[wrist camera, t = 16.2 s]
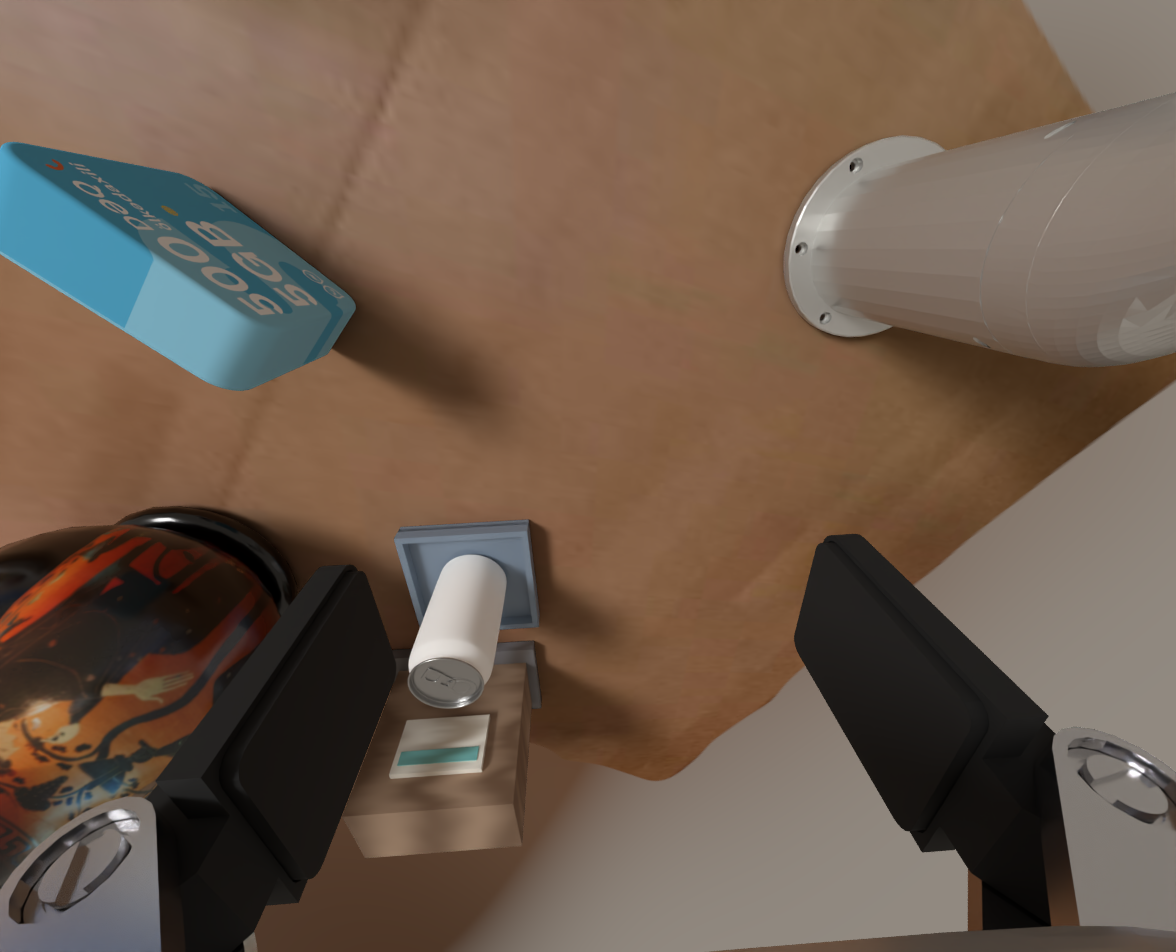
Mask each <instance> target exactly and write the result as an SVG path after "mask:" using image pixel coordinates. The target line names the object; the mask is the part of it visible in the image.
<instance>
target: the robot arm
mask: <svg viewBox="0 0 1176 952" xmlns="http://www.w3.org/2000/svg"><path fill="white" fill-rule="evenodd" d="M850 164H851V166H852V168H851V171H850ZM797 245H798V247H799V249H798V251H797V252H796V253H795V249H796V246H797ZM784 278H785V284H786V289H787V292H788V294H789V297H790V300H791V302H792V304H793V306H794V307H795V309H796V310H797V312H798V313H799V315H800V316H801V317H802V318H804V319H805V320H806V321H807V322H808V323H809V324H810V325H812V326H814V327H816V328H817V329H819V330H821V331H824V332H827V333H830V334H833V335H837V336H843V337H863V336H867V335H871V334H876V333H879V332H882V331H884V330H886V329H889V328H891V327H893V326H895V327H899V328H903V329H907V330H911V331H916V332H920V333H924V334H928V335H933V336H937V337H941V338H945V339H949V340H954V341H958V342H962V343H966V344H970V345H975V346H979V347H983V348H987V349H991V350H996V351H1000V352H1004V353H1008V354H1012V355H1017V356H1021V357H1025V358H1031V359H1035V360H1040V361H1044V362H1048V363H1054V364H1060V365H1067V366H1077V367H1103V366H1115V365H1125V364H1130V363H1135V362H1140V361H1144V360H1149V359H1153V358H1157V357H1160V356H1164V355H1168V354H1171V353H1174V352H1176V92H1175V93H1171V94H1167V95H1163V96H1159V97H1155V98H1151V99H1147V100H1144V101H1140V102H1137V103H1132V104H1129V105H1125V106H1121V107H1117V108H1113V109H1109V110H1105V111H1101V112H1097V113H1093V114H1089V115H1085V116H1081V117H1077V118H1073V119H1069V120H1065V121H1061V122H1057V123H1054V124H1050V125H1046V126H1042V127H1038V128H1034V129H1030V130H1026V131H1022V132H1018V133H1014V134H1010V135H1006V136H1002V137H998V138H994V139H990V140H986V141H983V142H979V143H975V144H971V145H967V146H963V147H959V148H955V149H951V150H947V151H946V150H945V149H944V148H942V147H941V146H940V145H938V144H937V143H935V142H933V141H930V140H927V139H924V138H922V137H914V136H897V137H890V138H884V139H881V140H878V141H875V142H872V143H869V144H866V145H864V146H862V147H860V148H858V149H856V150H854V151H852V152H850V153H848V154H847V155H846V156H844V157H843V158H842V159H840V160H839V161H837V162H836V163H835V164H833V165H832V166H831V167H830V168H829V169H828V170H827V171H826V172H825V173H824V174H823V175H822V176H821V177H820V178H819V179H818V180H817V181H816V183H815V184H814V185H813V187H812V188H811V189H810V191H809V192H808V193H807V195H806V196H805V198H804V199H803V201H802V203H801V205H800V207H799V209H798V211H797V212H796V214H795V216H794V219H793V222H792V224H791V227H790V230H789V233H788V236H787V241H786V246H785V252H784ZM821 315H822V318H821V319H820V317H821ZM794 641H795V646H796V649H797V652H798V654H799V656H800V657H801V659H802V661H803V662H804V664H805V666H806V668H807V669H808V671H809V673H810V675H811V676H812V678H813V680H814V681H815V683H816V685H817V687H818V688H819V690H820V692H821V694H822V695H823V697H824V699H825V700H826V702H827V704H828V706H829V707H830V709H831V711H832V712H833V714H834V716H835V718H836V719H837V721H838V723H839V724H840V726H841V728H842V730H843V732H844V733H845V735H846V737H847V738H848V740H849V742H850V744H851V745H852V747H853V749H854V750H855V752H856V754H857V756H858V757H859V759H860V761H861V763H862V764H863V766H864V768H865V770H866V771H867V773H868V775H869V776H870V778H871V780H872V782H873V783H874V785H875V787H876V788H877V790H878V792H879V794H880V795H881V797H882V799H883V800H884V802H885V804H886V806H887V808H888V809H889V811H890V813H891V814H892V816H893V818H894V819H895V821H896V822H897V824H898V825H899V826H900V827H901V828H902V829H904V830H905V831H910V833H911V834H912V836H913V838H914V840H915V841H916V843H917V845H918V846H919V848H920V850H921V851H922V852H934V851H946V850H955V849H956V851H957V852H958V854H959V855H960V857H961V858H962V860H963V861H964V863H965V865H966V866H967V868H968V931H964V932H947V933H934V934H921V935H908V936H896V937H883V938H872V939H859V940H847V941H833V942H822V943H809V944H796V945H785V946H771V947H759V948H748V949H735V950H723V951H712V952H1176V772H1175V771H1174V770H1172V769H1171V768H1170V767H1169V766H1167V765H1166V764H1165V763H1164V762H1162V761H1160V760H1159V759H1157V758H1156V757H1154V756H1152V755H1151V754H1149V753H1148V752H1146V751H1144V750H1143V749H1141V748H1140V747H1137V746H1135V745H1133V744H1131V743H1129V742H1127V741H1124V740H1123V739H1121V738H1118V737H1116V736H1114V735H1110V734H1107V733H1104V732H1101V731H1098V730H1095V729H1089V728H1081V727H1071V728H1065V729H1061V730H1060V731H1059V732H1058V733H1057V734H1055V733H1054V732H1053V731H1052V730H1051V729H1050V728H1049V727H1048V726H1047V725H1046V724H1045V723H1044V722H1045V721H1046V719H1047V718H1048V715H1047V714H1046V713H1045V712H1044V711H1043V710H1042V709H1041V708H1040V707H1039V706H1038V705H1036V704H1035V703H1034V701H1032V700H1031V699H1030V698H1029V697H1028V696H1027V695H1026V694H1025V693H1024V692H1023V691H1022V690H1021V689H1020V688H1019V687H1018V686H1017V685H1016V684H1015V683H1014V682H1013V681H1012V680H1011V679H1010V678H1009V677H1008V676H1007V675H1006V674H1005V673H1004V672H1002V671H1001V670H1000V669H999V668H998V667H997V666H996V665H995V664H994V663H993V662H992V661H991V660H990V659H989V658H988V657H987V656H986V655H985V654H984V653H983V652H982V651H981V650H980V649H978V647H976V645H974V644H973V643H972V642H971V641H970V640H969V639H968V638H967V637H966V636H965V635H964V634H963V633H962V632H961V631H960V630H959V629H958V628H957V627H956V626H955V625H954V624H953V623H952V622H951V621H950V620H949V619H947V618H946V616H944V615H943V614H942V613H941V612H940V611H939V610H938V609H937V608H936V607H935V606H934V605H933V604H932V603H931V602H930V601H929V600H928V599H927V598H926V597H925V596H924V595H923V594H922V593H921V592H920V591H919V590H918V589H916V588H915V587H914V586H913V585H912V584H911V583H910V582H909V581H908V580H907V579H906V578H905V577H904V576H903V575H902V574H901V573H900V572H899V571H898V570H897V569H896V568H895V567H894V566H893V565H892V564H891V563H890V562H889V561H887V560H886V559H885V558H884V557H883V556H882V555H881V554H880V553H879V552H878V551H877V550H876V549H875V548H874V547H873V546H872V545H871V544H870V543H869V542H868V541H867V540H866V539H865V538H864V537H862V536H861V535H858V534H846V535H830V536H827V537H826V538H825V539H824V542H823V543H820V544H818V546H817V548H816V551H815V555H814V559H813V563H812V567H811V571H810V575H809V579H808V583H807V587H806V591H805V595H804V599H803V603H802V607H801V611H800V615H799V619H798V623H797V627H796V631H795V636H794ZM395 676H396V661H395V658H394V655H393V652H392V649H391V646H390V643H389V641H388V638H387V635H386V632H385V629H384V626H383V623H382V620H381V617H380V615H379V612H378V609H377V606H376V603H375V600H374V597H373V594H372V591H371V589H370V586H369V583H368V580H367V577H366V575H365V573H364V572H362V571H357V569H356V567H355V566H354V565H335V566H322V567H320V568H319V569H318V570H316V572H315V573H314V574H313V575H312V577H311V578H310V579H309V581H308V582H307V583H306V585H305V586H304V587H303V589H302V590H301V591H300V592H299V594H298V595H297V596H296V598H295V599H294V600H293V602H292V603H291V604H290V606H289V607H288V608H287V609H286V611H285V612H284V613H283V615H282V616H281V617H280V619H279V620H278V621H277V623H276V624H275V625H274V626H273V628H272V629H271V630H270V632H269V633H268V634H267V636H266V637H265V638H264V639H263V641H262V642H261V643H260V645H259V646H258V647H257V649H256V650H255V651H254V653H253V654H252V655H251V656H250V658H249V659H248V660H247V662H246V663H245V664H244V666H243V667H242V668H241V670H240V671H239V672H238V673H237V675H236V676H235V677H234V679H233V680H232V681H231V683H230V684H229V685H228V687H227V688H226V689H225V690H224V692H223V693H222V694H221V696H220V697H219V698H218V700H217V701H216V702H215V704H214V705H213V706H212V707H211V709H210V710H209V711H208V713H207V714H206V715H205V717H204V718H203V719H202V721H201V722H200V723H199V724H198V726H197V727H196V728H195V730H194V731H193V732H192V734H191V735H190V736H189V737H188V739H187V740H186V741H185V743H184V744H183V745H182V747H181V748H180V749H179V751H178V752H177V753H176V754H175V756H174V757H173V758H172V760H171V761H170V762H169V764H168V765H167V766H166V768H165V769H164V770H163V771H162V773H161V774H160V775H159V777H158V778H157V779H156V781H155V782H156V783H157V786H156V787H155V788H154V790H153V791H152V792H151V794H150V795H149V796H148V798H147V799H144V798H142V797H123V798H119V799H116V800H112V801H108V802H105V803H103V804H101V805H99V806H97V807H95V808H92V809H90V810H88V811H86V812H84V813H82V814H81V815H79V816H78V817H76V818H74V819H73V820H71V821H70V822H68V823H67V824H65V825H64V826H62V827H61V828H59V829H58V830H57V831H55V832H54V833H53V834H52V835H50V836H49V837H48V838H47V839H46V840H44V841H43V842H42V843H41V844H40V845H38V846H37V847H36V848H35V849H34V850H33V851H32V852H31V853H30V854H29V855H28V856H27V857H26V858H25V859H24V860H23V861H22V862H21V864H20V865H19V866H18V867H17V868H16V869H15V870H14V871H13V872H12V874H11V875H10V876H9V878H8V879H7V881H6V882H5V884H4V885H3V886H2V888H1V889H0V952H258V951H257V945H256V941H255V934H254V930H255V928H256V926H257V924H258V921H259V919H260V917H261V915H262V912H263V910H264V908H265V906H266V905H277V904H290V903H298V902H299V900H300V897H301V895H302V893H303V890H304V888H305V885H306V883H307V880H308V879H311V878H313V877H315V876H316V874H317V873H318V872H319V870H320V869H321V866H322V864H323V862H324V859H325V857H326V854H327V851H328V849H329V847H330V844H331V842H332V839H333V836H334V833H335V831H336V829H337V826H338V824H339V821H340V819H341V816H342V813H343V811H344V808H345V805H346V803H347V801H348V798H349V795H350V793H351V790H352V788H353V785H354V782H355V780H356V777H357V775H358V772H359V770H360V767H361V765H362V762H363V760H364V757H365V754H366V752H367V749H368V747H369V744H370V742H371V739H372V737H373V734H374V731H375V729H376V726H377V724H378V721H379V718H380V716H381V713H382V711H383V708H384V706H385V703H386V701H387V698H388V696H389V693H390V690H391V688H392V685H393V683H394V680H395Z"/></svg>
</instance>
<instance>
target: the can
mask: <svg viewBox="0 0 1176 952" xmlns="http://www.w3.org/2000/svg"><path fill="white" fill-rule="evenodd" d="M506 584H507V580H506V575H505V573H504V571H503V569H502V568H501V567H500V566H499V565H498V564H497V563H496V562H494V561H493V560H491V559H489V558H487V557H485V556H481V555H475V554H469V555H463V556H459V557H456V558H454V559H452V560H450V561H449V562H448V563H447V564H446V565H445V566H444V568H443V569H442V571H441V574H440V576H439V579H438V581H437V584H436V587H435V589H434V592H433V594H432V597H431V600H430V602H429V605H428V608H427V610H426V613H425V616H424V618H423V621H422V624H421V626H420V629H419V632H418V635H417V637H416V640H415V643H414V646H413V648H412V651H411V654H410V658H409V676H408V687H409V690H410V691H411V693H412V694H413V695H414V696H415V697H416V698H417V699H418V700H420V701H421V702H423V703H425V704H427V705H430V706H433V707H437V708H444V709H453V708H460V707H464V706H467V705H469V704H471V703H473V702H475V701H476V700H477V699H478V698H479V697H480V696H481V694H482V692H483V690H484V685H485V684H486V683H487V681H488V680H489V678H490V676H491V673H492V669H493V664H494V658H495V653H496V647H497V641H498V635H499V629H500V623H501V617H502V611H503V604H504V598H505V592H506Z"/></svg>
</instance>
